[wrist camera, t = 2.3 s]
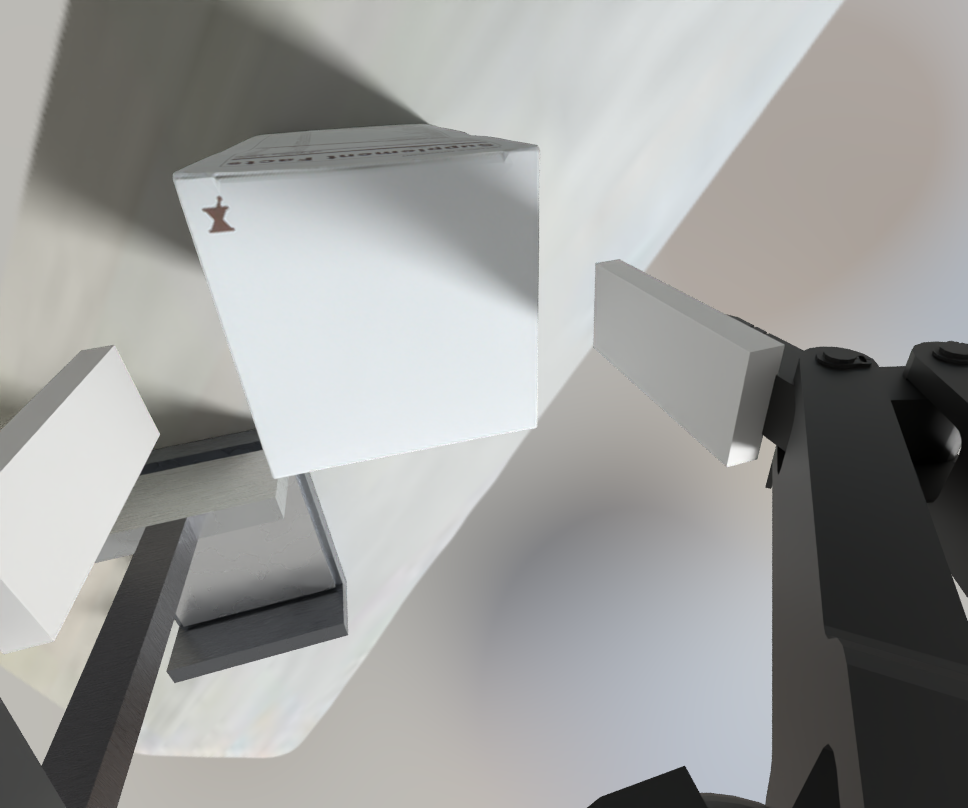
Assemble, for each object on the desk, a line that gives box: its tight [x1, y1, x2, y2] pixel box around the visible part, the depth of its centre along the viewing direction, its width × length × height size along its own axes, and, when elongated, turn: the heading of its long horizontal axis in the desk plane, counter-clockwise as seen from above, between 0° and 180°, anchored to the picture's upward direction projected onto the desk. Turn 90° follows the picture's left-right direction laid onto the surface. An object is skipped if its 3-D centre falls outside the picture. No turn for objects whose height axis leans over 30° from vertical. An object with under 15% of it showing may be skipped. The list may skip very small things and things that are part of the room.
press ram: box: [42, 450, 289, 808], centre depth 22 cm, size 11×2×23 cm, turn 95°
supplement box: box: [173, 124, 540, 479], centre depth 22 cm, size 10×9×17 cm
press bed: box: [133, 430, 348, 683], centre depth 35 cm, size 12×16×5 cm
